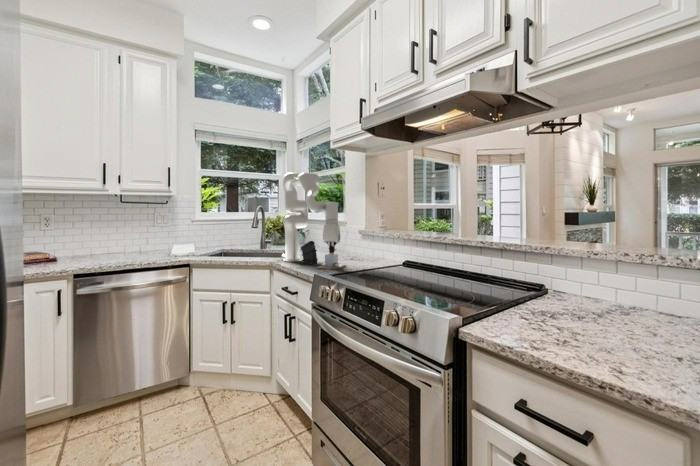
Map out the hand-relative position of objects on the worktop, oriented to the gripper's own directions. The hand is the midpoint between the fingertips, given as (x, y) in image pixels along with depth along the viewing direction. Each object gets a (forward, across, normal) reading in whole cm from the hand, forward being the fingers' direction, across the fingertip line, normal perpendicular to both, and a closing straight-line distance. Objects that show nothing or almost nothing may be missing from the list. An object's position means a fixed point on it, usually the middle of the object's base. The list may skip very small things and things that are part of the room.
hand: (331, 252), depth 199 cm
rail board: (+9, 0, 0) cm, 9 cm away
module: (+8, 0, 0) cm, 8 cm away
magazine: (+9, -21, +6) cm, 24 cm away
